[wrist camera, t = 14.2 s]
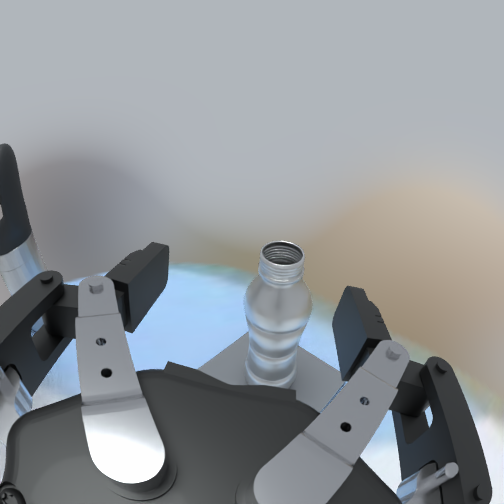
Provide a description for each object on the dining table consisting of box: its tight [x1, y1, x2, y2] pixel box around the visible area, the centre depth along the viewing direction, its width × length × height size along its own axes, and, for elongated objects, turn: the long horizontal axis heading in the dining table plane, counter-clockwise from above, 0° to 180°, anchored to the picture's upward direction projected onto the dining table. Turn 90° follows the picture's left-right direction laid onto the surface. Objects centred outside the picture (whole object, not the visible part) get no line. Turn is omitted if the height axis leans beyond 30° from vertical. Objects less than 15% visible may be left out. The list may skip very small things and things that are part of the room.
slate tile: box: [197, 331, 346, 413], centre depth 33 cm, size 16×14×2 cm
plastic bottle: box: [244, 241, 313, 389], centre depth 27 cm, size 6×7×20 cm
